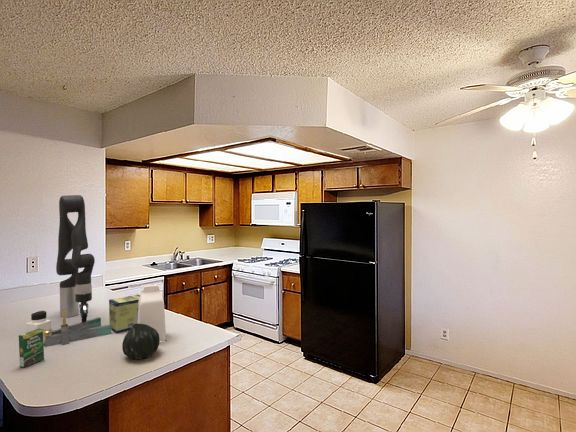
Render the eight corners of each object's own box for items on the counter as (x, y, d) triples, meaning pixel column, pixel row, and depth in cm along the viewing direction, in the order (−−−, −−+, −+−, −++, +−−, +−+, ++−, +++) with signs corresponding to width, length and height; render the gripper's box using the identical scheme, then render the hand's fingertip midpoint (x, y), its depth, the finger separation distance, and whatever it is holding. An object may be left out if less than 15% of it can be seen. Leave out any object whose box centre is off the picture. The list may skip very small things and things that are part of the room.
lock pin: (62, 328, 164) (61, 309, 164) (66, 327, 165) (66, 308, 165) (62, 329, 163) (61, 310, 162) (66, 328, 164) (66, 309, 163)
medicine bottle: (51, 334, 169) (51, 310, 168) (36, 339, 162) (36, 314, 162) (41, 332, 171) (41, 308, 171) (26, 337, 164) (26, 313, 164)
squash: (170, 335, 152) (147, 311, 151) (158, 351, 137) (133, 324, 136) (147, 356, 152) (124, 332, 151) (133, 374, 138) (107, 347, 136)
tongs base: (41, 340, 160) (40, 328, 160) (108, 328, 177) (108, 316, 177) (40, 349, 151) (40, 335, 150) (112, 335, 167) (112, 322, 167)
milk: (138, 346, 154) (138, 289, 154) (137, 337, 165) (136, 284, 164) (166, 341, 160) (165, 287, 159) (163, 333, 170) (162, 282, 169)
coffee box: (23, 368, 133) (22, 335, 132) (18, 367, 134) (18, 334, 133) (44, 359, 140) (44, 328, 140) (40, 358, 141) (39, 327, 141)
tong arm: (49, 339, 160) (49, 331, 160) (98, 324, 181) (98, 317, 181) (51, 340, 159) (51, 332, 159) (101, 325, 180) (100, 317, 180)
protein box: (108, 329, 176) (108, 299, 176) (138, 321, 187) (138, 293, 187) (116, 334, 169) (116, 303, 168) (147, 326, 180) (146, 297, 180)
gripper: (74, 290, 181) (74, 322, 181) (76, 295, 170) (76, 329, 171) (90, 288, 185) (90, 319, 186) (93, 293, 175) (93, 326, 175)
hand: (84, 324), depth 178 cm, fingers closed
